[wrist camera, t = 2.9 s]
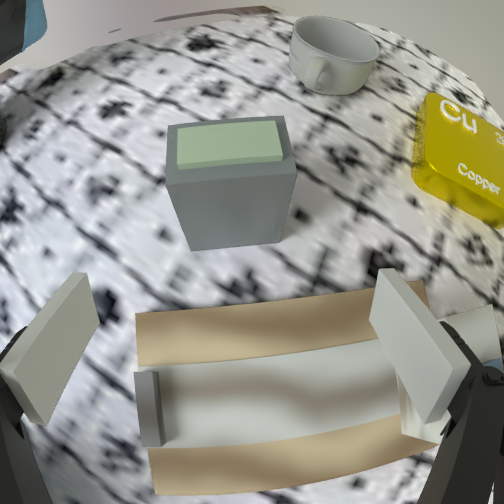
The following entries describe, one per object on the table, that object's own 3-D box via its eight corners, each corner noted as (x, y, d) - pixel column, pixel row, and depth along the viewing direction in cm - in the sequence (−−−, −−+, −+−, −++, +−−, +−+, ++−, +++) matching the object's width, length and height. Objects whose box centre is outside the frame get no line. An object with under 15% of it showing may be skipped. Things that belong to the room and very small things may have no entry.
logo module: (189, 203, 31) (166, 119, 20) (271, 195, 31) (284, 109, 21) (191, 251, 29) (163, 179, 18) (279, 242, 30) (298, 167, 19)
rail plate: (138, 315, 27) (81, 278, 16) (417, 282, 29) (487, 236, 18) (158, 490, 21) (113, 546, 11) (440, 440, 23) (519, 455, 12)
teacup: (312, 51, 41) (320, 8, 34) (376, 84, 39) (393, 41, 31) (254, 91, 37) (257, 40, 29) (329, 133, 35) (346, 82, 27)
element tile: (407, 186, 33) (426, 162, 29) (415, 107, 38) (428, 84, 34) (503, 235, 31) (526, 219, 27) (497, 152, 37) (513, 134, 32)
